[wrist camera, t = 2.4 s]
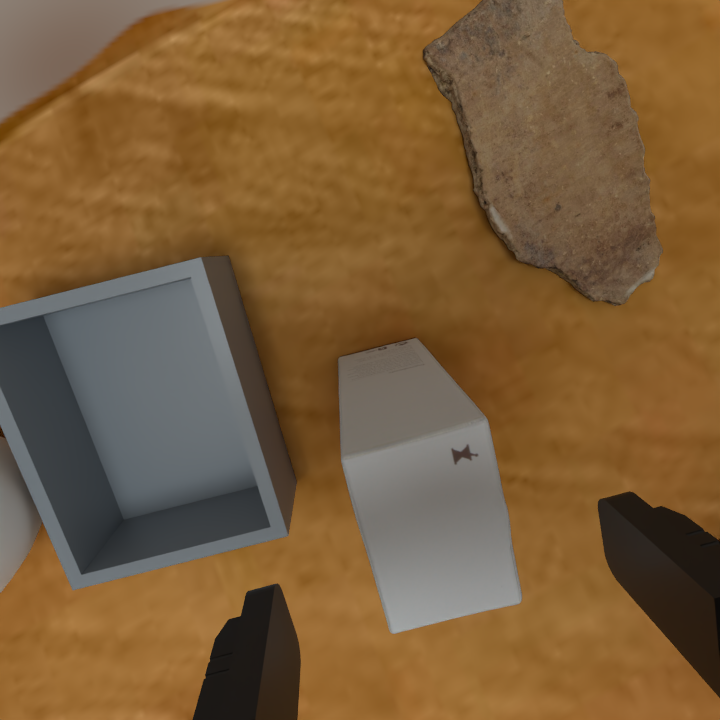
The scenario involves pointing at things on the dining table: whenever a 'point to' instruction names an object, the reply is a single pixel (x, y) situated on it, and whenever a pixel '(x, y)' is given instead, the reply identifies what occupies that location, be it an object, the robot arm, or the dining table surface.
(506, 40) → the pottery shard
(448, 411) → the skincare box
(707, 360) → the dining table surface
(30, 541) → the sauce bottle
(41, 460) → the bin
